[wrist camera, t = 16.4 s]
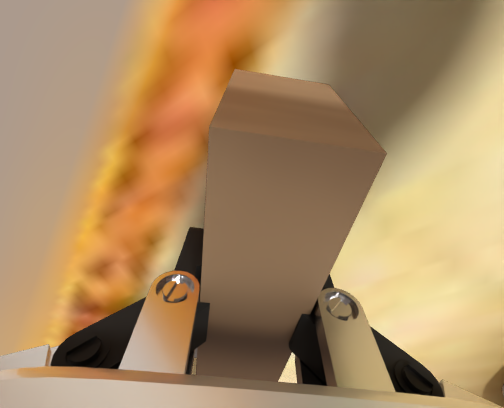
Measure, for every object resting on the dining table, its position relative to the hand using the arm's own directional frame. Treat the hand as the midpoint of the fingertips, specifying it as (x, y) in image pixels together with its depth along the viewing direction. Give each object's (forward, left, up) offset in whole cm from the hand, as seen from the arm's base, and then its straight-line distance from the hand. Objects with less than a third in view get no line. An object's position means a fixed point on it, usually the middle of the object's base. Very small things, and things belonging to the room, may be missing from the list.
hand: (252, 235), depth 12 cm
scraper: (+3, 0, -1) cm, 3 cm away
